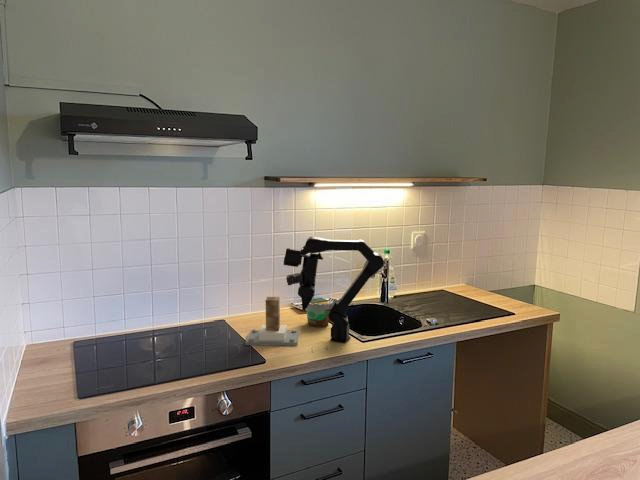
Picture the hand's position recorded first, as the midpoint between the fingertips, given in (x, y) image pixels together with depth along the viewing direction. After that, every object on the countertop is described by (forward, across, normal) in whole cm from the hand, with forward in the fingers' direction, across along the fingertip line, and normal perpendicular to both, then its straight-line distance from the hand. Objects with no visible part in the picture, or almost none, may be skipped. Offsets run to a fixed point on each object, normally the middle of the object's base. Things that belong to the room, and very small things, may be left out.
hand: (304, 307), depth 197 cm
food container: (+13, -17, +6) cm, 22 cm away
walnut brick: (+11, 0, -11) cm, 15 cm away
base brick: (+15, 0, -11) cm, 18 cm away
